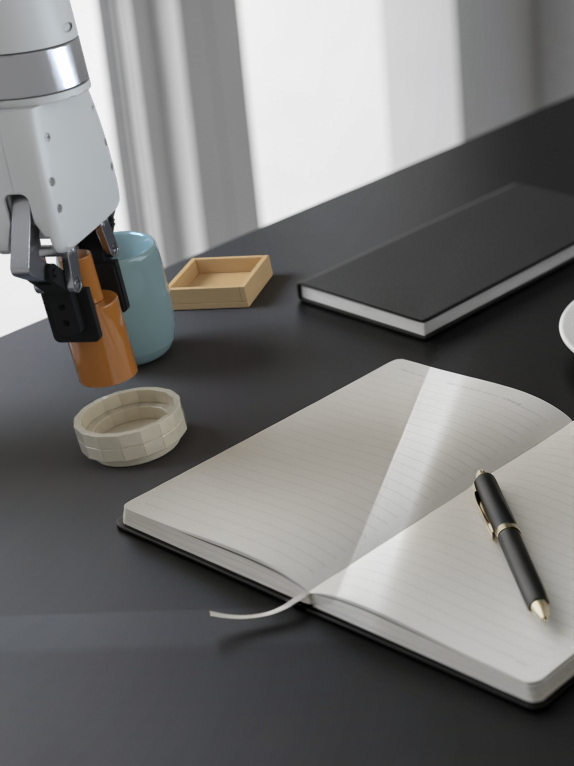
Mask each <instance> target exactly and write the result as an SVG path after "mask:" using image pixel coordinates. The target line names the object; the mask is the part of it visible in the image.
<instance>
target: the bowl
mask: <svg viewBox="0 0 574 766" xmlns="http://www.w3.org/2000/svg"><path fill="white" fill-rule="evenodd" d="M184 410H185V409H184V407H183V404H182V400H181V396H180V395H179V394H177V393H176V392H175V391H174V390H173V389H170V388H164V387H160V386H141V387H139V386H138V387H132V388H128V389H123V390H118V391H115V392H112V393H109V394H107V395H104V396H101V397H98V398H97V399H95V400H93V401H92V402H90V403H88V404H87V405H85V406H83V407H82V408H81V409H80V410H79V412H78V413H77V414H76V415H75V416H74V417H73V430H74V432H75V436H76V438H77V442H78V445H79V448H80V451H81V453H82V454H83V455H85V456H86V457H87V458H88V459H90V460H93V461H96V462H98V463H99V464H101V465H103V466H106V467H115V468H123V467H124V468H125V467H132V466H138V465H142V464H146V463H149V462H152V461H155V460H156V459H159V458H161V457H163V456H165V455H166V454H168V453H170V452H171V451H172V450H174V449H175V448H176V446H177V445H178V444H179V442H180V440H181V438H182V437H183V436H184V434H185V433H186V431H187V430H188V423H187V418H186V413H185V411H184Z"/></svg>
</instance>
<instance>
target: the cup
mask: <svg viewBox="0 0 574 766" xmlns="http://www.w3.org/2000/svg"><path fill="white" fill-rule="evenodd" d="M113 234H114V236H115V239H116V242H117V244H118V249H119V252H118V256H117V257H115V258H112V259H118V261H119V265H120V269H121V273H122V277H123V280H124V284H125V288H126V292H127V296H128V299H129V303H130V307H129V309H128V310H127V311H126V312H122V313H123V316H124V320H125V324H126V327H127V331H128V334H129V338H130V341H131V345H132V349H133V352H134V356H135V359H136V363H137V367H138V366H142V365H146V364H148V363H151V362H153V361H155V360H157V359H160V358H161V357H163V356H164V355H165V354H166V353H167V352H169V350H170V348H171V347H172V345H173V343H174V339H175V334H176V318H175V310H173V304H172V299H171V295H170V290H169V286H168V284H169V282H168V279H167V274H166V271H165V267H164V263H163V260H162V256H161V252H160V249H159V246H158V244H157V243H158V242H157V241H156V239H155V238H154V237H153V236H152V235H150V234H149V233H145V232H142V231H138V230H121V231H119V230H118V231H114V232H113ZM55 264H56V265H57V266H58V267H59V264H58V261H57V257H55Z"/></svg>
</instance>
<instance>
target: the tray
mask: <svg viewBox="0 0 574 766" xmlns="http://www.w3.org/2000/svg"><path fill="white" fill-rule="evenodd" d="M273 276H274V272H273V267H272V263H271V259H270V255H269V254H256V255H254V254H253V255H232V256H230V255H229V256H209V257H208V256H207V257H206V256H205V257H192V258H190V260H189V261H188V262H187V263H186V264H185V265H184V266H183V267H182V269H180V270H179V272H178V273H177V274H176V275H175V276H174V277H173V278H172V280H171V281H170V282H168V286H169V290H170V295H171V299H172V304H173V310H174V311H186V310H189V311H190V310H191V311H192V310H213V309H237V308H238V309H240V308H250V307H251V305H252V304H253V302H254V301H255V300H256V299H257V297H258V296H259V295H260V293H261V292H262V290H263V289H264V288H265V286H266V285H267V284H268V282H269V281H270V280H271V279H272V277H273Z"/></svg>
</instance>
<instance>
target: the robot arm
mask: <svg viewBox="0 0 574 766" xmlns="http://www.w3.org/2000/svg"><path fill="white" fill-rule="evenodd" d="M73 11H74V10H73V7H72V3H71V0H0V254H1V255H10V258H9V259H10V261H9V262H10V264H9V265H10V266H9V269H10V274H11V275H12V276H13V277H15V278H18V279H22V280H25V281H27V282H28V283H30V284H31V285H33V288H34V291H35V293H36V294H40V297H41V299H42V300H41V301H42V304H43V306H44V310H45V314H46V315H47V316H46V317H47V319H48V323H49V327H50V330H51V333H52V337H53V339H54V341H55V342H57V343H60V344H61V343H63V344H65V343H67V344H68V343H69V342H97V341H99V340H100V339H101V337H102V335H103V334H102V330H101V327H100V323H99V319H98V316H97V312H96V308H95V305H94V301H93V298H92V294H91V290H90V287H82V279H81V273H80V267H79V261H78V256H77V249H86V250H89V251H90V252H91V254H92V257H93V261H94V264H95V268H96V271H97V275H98V278H99V282H100V285H101V289H103V290H111V291H114V292H115V293H116V294H117V295H118V299H119V302H120V306H121V309H122V312H126V311H127V310H128V309H129V307H130V303H129V299H128V296H127V292H126V288H125V284H124V280H123V277H122V273H121V269H120V265H119V261H118V259H112V258H115V257H117V256H118V252H119V249H118V244H117V242H116V239H115V236H114V234H113V232H115V226H116V222H115V221H116V219H115V213H116V209H117V208H118V206H119V204H120V200H121V199H120V196H121V195H120V189H119V184H118V179H117V174H116V169H115V166H114V163H113V162H114V161H113V159H112V154H111V152H110V148H109V145H108V141H107V138H106V134H105V132H104V129H103V126H102V123H101V119H100V116H99V114H98V111H97V108H96V105H95V103H94V100H93V97H92V95H91V92H90V89H91V87H92V81H91V78H90V75H89V70H88V67H87V63H86V59H85V56H84V55H85V54H84V51H83V47H82V44H81V40H80V36H79V31H78V27H77V24H76V19H75V16H74V12H73ZM41 240H50V243H51V244H42V243H41ZM48 257H49V258H52V257H53V258H56V257H61V259H62V265H63V270H62V269H61V268H60V267H58V266H57V264H56V263H49V262H47V260H46V259H47V258H48Z"/></svg>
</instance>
